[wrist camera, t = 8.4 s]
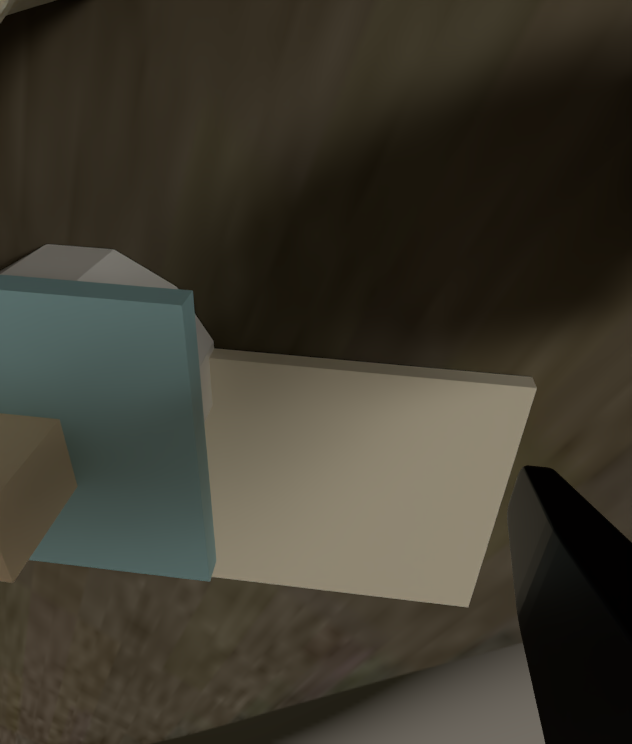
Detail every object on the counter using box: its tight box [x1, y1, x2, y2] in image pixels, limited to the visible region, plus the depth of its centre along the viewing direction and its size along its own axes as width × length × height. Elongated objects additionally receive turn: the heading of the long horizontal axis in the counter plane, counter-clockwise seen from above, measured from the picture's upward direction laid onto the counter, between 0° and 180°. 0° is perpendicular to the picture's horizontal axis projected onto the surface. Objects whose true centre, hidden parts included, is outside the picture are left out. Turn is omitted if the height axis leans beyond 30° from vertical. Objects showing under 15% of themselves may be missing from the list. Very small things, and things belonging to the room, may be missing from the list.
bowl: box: [0, 244, 214, 423], centre depth 22 cm, size 10×10×5 cm
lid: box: [0, 275, 216, 583], centre depth 17 cm, size 12×12×5 cm
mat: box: [204, 348, 537, 607], centre depth 26 cm, size 14×14×1 cm
